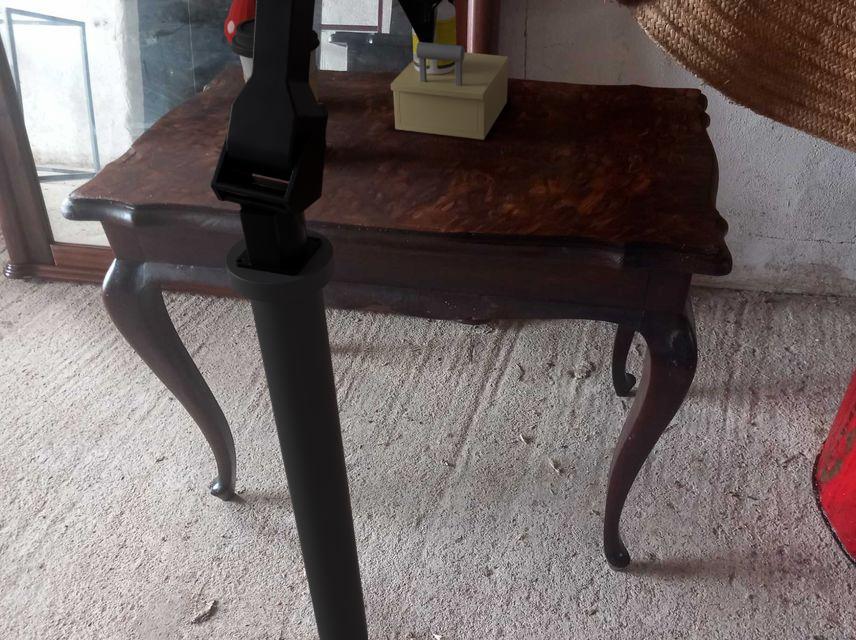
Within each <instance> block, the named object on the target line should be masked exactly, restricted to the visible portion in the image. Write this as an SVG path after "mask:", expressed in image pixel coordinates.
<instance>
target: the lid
mask: <svg viewBox="0 0 856 640" xmlns="http://www.w3.org/2000/svg"><path fill="white" fill-rule="evenodd" d="M416 55H417V57H418V58H419V68H420V72H419V71H417V70H416V69H415V67H414V59H413V60H412V61H411V62H410V63H409V64H408V65H407V66H406V67H405V68H404V69H403V70H402V72H400V73H399V75H398V76H396V78H395V79H394V80H393V81H392V82H391V83H390V91H393V90H394V91H403V92H412V93H421V94H431V95H440V96H449V97H458V98H467V99H476V100H483V99H484V98H485V96H486V95H487V93H488V92H489V90H490V89H491V87H492V86H493V84H494V83H495V81H496V80H497V78H498V77H499V75H500V74H501V72H502V71H503V69H504V68H505V66H506V65H507V63H508V64H509V56H507V55H497V54H496V55H495V54H487V53H475V52H466V49H465V46H464V45H457V44H456V45H446V44H436V43H425V42H418V44H417V48H416ZM426 59H433V60H443V61H453V62H455V69H454V70H453V71H451V72H448V73H444V74H427V72H426Z"/></svg>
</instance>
